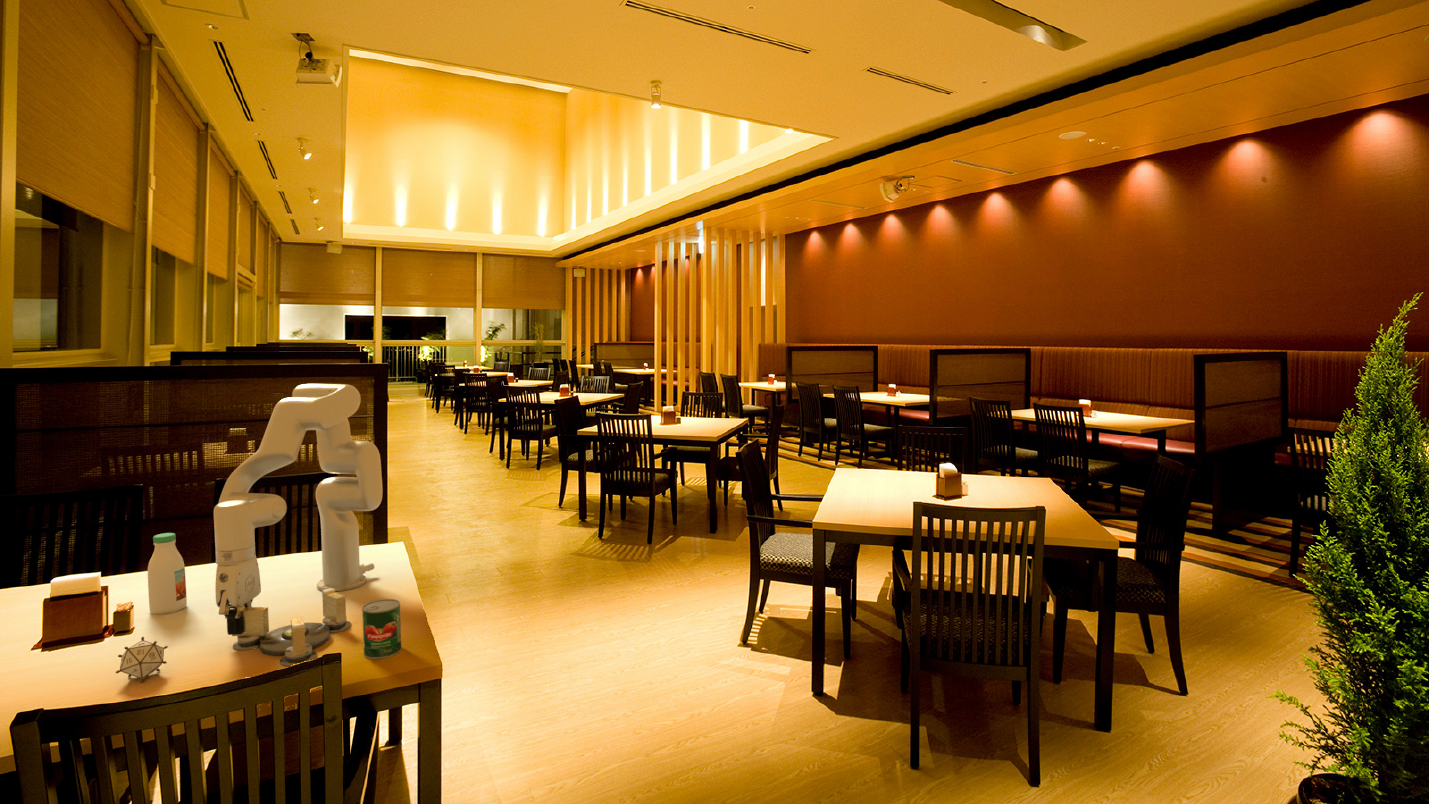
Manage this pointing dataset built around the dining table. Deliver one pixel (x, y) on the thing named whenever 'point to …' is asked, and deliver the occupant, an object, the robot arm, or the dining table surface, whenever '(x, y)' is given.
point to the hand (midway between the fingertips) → (239, 630)
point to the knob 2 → (298, 642)
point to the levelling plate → (281, 640)
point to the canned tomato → (381, 628)
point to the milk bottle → (166, 576)
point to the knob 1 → (253, 625)
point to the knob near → (334, 609)
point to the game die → (142, 659)
